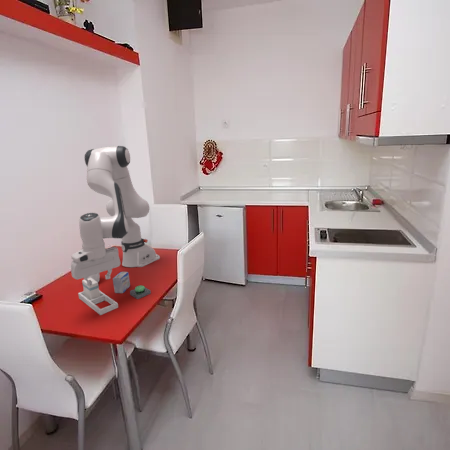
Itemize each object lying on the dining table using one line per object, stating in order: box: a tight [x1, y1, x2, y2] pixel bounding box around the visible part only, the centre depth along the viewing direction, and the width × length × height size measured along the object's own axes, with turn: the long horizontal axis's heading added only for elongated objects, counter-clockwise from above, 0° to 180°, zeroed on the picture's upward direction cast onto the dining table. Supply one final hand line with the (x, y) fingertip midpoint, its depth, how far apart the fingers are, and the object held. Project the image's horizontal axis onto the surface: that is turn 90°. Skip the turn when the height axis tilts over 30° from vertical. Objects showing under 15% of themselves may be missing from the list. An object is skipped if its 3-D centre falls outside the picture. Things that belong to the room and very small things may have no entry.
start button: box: [134, 284, 146, 293], centre depth 152 cm, size 4×4×4 cm
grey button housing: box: [129, 287, 152, 300], centre depth 153 cm, size 7×7×3 cm
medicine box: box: [112, 271, 131, 294], centre depth 158 cm, size 8×4×9 cm, turn 170°
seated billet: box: [81, 278, 100, 300], centre depth 150 cm, size 4×8×9 cm, turn 45°
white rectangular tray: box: [77, 289, 119, 316], centre depth 147 cm, size 8×23×3 cm, turn 45°
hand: (99, 281), depth 140 cm, fingers open, 7 cm apart
